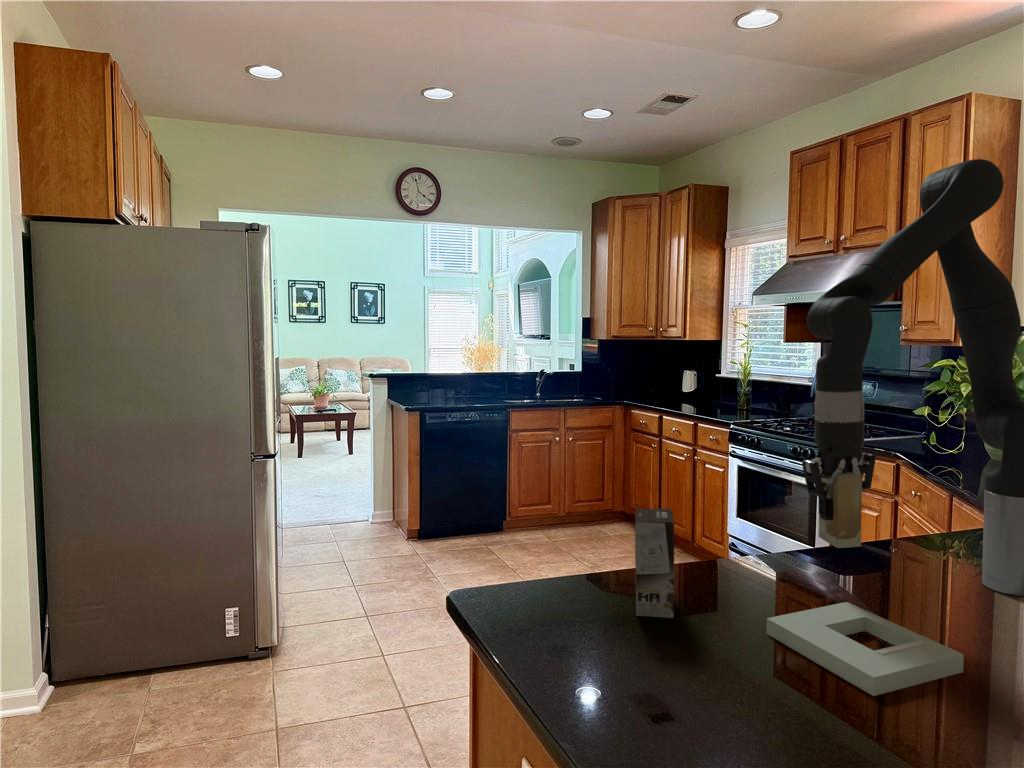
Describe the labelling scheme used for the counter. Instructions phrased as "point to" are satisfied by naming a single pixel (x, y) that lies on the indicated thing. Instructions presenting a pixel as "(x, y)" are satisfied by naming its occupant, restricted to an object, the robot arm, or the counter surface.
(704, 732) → the counter surface
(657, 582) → the coffee box
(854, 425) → the robot arm
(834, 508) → the skincare box
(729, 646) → the counter surface
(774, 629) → the socket board
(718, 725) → the counter surface
